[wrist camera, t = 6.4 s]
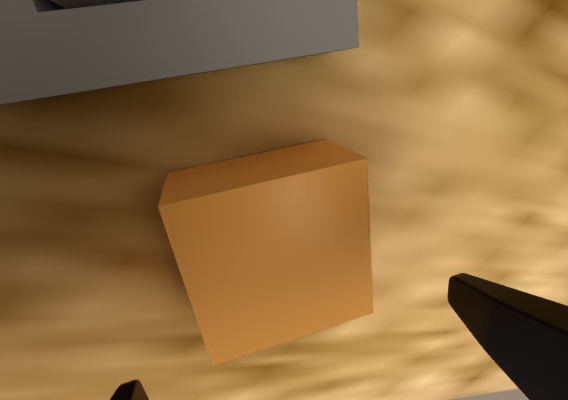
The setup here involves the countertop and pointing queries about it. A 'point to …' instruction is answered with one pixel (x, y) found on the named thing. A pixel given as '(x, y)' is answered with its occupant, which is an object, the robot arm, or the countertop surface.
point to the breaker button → (87, 3)
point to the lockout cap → (271, 244)
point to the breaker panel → (157, 40)
